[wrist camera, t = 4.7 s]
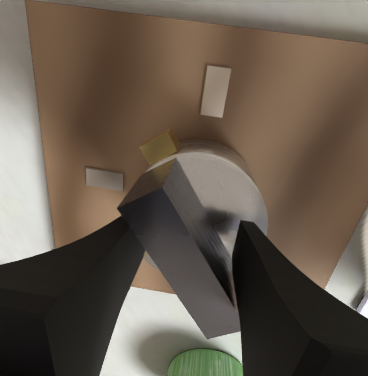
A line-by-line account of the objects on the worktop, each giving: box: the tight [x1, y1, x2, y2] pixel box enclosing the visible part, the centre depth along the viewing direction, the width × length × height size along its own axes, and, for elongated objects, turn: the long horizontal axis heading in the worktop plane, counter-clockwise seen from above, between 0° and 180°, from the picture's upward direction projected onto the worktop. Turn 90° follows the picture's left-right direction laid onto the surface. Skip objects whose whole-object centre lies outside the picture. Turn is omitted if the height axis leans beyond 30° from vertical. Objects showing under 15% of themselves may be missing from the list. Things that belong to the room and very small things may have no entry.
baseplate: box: [25, 0, 368, 294], centre depth 16 cm, size 20×18×2 cm
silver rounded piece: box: [117, 128, 268, 339], centre depth 12 cm, size 8×7×7 cm
